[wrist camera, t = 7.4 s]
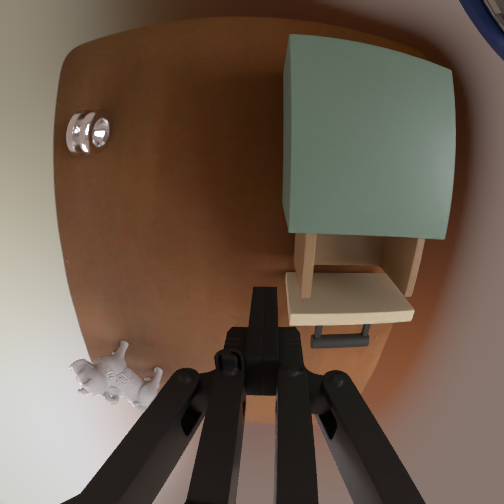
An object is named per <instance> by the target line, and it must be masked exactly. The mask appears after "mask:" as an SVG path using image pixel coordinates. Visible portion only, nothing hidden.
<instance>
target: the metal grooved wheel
mask: <svg viewBox="0 0 504 504" xmlns="http://www.w3.org/2000/svg"><path fill="white" fill-rule="evenodd" d="M110 135H111V120H110V117H109V115H108V114H107V113H106V112H105V111H104V110H101V109H95V110H80V111H78V112H77V113H75V114H74V116H73V117H72V118H71V120H70V122H69V124H68V127H67V132H66V142H67V146H68V148H69V150H70V151H71V152H72V153H73V154H75V155H89V156H94V155H98V154H99V153H101V152H102V151H103V150H104V149H105V147H106V146H107V144H108V142H109V139H110Z"/></svg>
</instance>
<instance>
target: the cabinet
mask: <svg viewBox="0 0 504 504" xmlns="http://www.w3.org/2000/svg"><path fill="white" fill-rule="evenodd" d="M455 135H456V126H455V101H454V88H453V78H452V71H451V70H449V69H447V68H445V67H442V66H439V65H437V64H434V63H432V62H429V61H426V60H423V59H420V58H417V57H414V56H411V55H408V54H405V53H401V52H398V51H394V50H390V49H387V48H383V47H378V46H374V45H370V44H365V43H360V42H355V41H349V40H343V39H336V38H329V37H321V36H311V35H299V34H289V40H288V46H287V52H286V58H285V64H284V70H283V197H282V205H283V209H284V214H285V218H286V223H287V227H288V232H289V233H312V234H342V235H367V236H389V237H408V238H427V239H443V240H444V239H445V236H446V231H447V224H448V219H449V213H450V206H451V198H452V189H453V179H454V165H455V142H456V140H455V139H456V137H455Z"/></svg>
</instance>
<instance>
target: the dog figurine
mask: <svg viewBox="0 0 504 504" xmlns="http://www.w3.org/2000/svg"><path fill="white" fill-rule="evenodd" d="M120 344H121V345H120V348H119V349H118V350H117V351H116V352H115V351H114V352H113V353H112V355H105V356H102V357H100V358H98V359H94V360H93V362H92V363H93V364H91V363H90V362H88V361H86V360H84V359H81V360H77V361H75V362H74V363H73V364H71V366H70V367H69V368H70V369H71V370H72V371H73V372H74V373H75V375H76V379H77V381H78V382H79V383H80V384H81V386H82V389H81V390H80V389H79V390H78V392H79V394H81V395H86V394H88V395H98V394H101V395H103V396H104V397H105V399H106V401H107V402H109V403H110V404H116V403H117V402H118V401H119V396H120V397H122V398H124V399H126V400H128V401H129V402H130V403H131V404H132V405H133V407H134V408H135V409H137V410H138V411H140V412H144V411H145V410H146V409H147V408H148V406H149V405H150V404H151V402H152V401H153V400H154V398H155V397H156V396H157V389H158V388H159V382H160V379H161V376H162V373H163V370H162V369H160V368H159V367H155V368H154V371H155V375H154V376H153V378H152V379H150V378H149V377H145V378H144V380H142V379H140V378H139V377H138V376H137V375H136V374H135V373H134V372H133V371H132V369H130V368H129V367H128V366H127V364H126V361H125V359H124V356H125V353H126V350H127V348H128V345H129V344H128V343H127V342H126V341H124V340H122V341H121V342H120ZM110 394H111V395H112V396H113V397H111V396H110Z"/></svg>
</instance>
